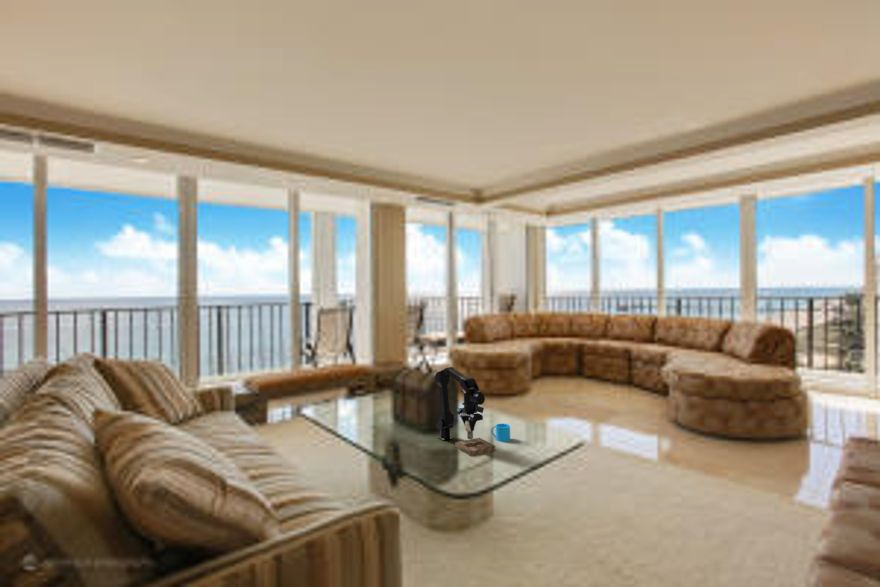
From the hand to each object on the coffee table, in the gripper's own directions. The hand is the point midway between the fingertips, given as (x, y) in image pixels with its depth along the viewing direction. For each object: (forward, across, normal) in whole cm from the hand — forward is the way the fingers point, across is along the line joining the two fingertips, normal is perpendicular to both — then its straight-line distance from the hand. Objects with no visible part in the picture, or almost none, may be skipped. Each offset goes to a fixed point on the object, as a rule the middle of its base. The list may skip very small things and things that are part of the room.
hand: (469, 429), depth 227 cm
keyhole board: (+11, 0, -3) cm, 11 cm away
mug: (+11, +6, -24) cm, 27 cm away
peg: (+4, 0, 0) cm, 5 cm away
